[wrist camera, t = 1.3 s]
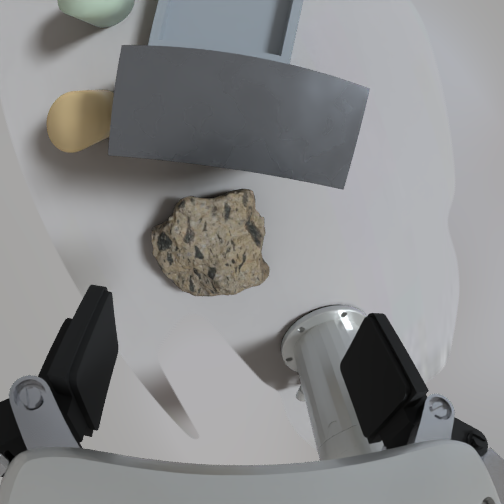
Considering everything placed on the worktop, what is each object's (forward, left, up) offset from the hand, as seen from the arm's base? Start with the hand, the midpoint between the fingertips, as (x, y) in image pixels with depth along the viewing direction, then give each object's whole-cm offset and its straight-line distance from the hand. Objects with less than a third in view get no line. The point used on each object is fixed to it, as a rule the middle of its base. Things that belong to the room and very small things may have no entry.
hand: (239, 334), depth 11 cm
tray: (+17, +3, -20) cm, 26 cm away
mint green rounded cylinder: (+16, +14, -20) cm, 29 cm away
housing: (+7, +1, -20) cm, 21 cm away
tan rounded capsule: (+5, +13, -20) cm, 24 cm away
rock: (-6, +1, -20) cm, 21 cm away
